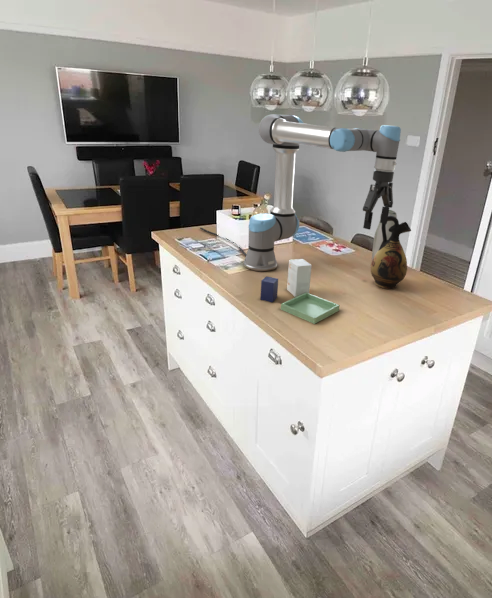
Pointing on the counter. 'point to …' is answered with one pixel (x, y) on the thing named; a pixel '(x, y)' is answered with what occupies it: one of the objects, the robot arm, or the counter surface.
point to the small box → (299, 277)
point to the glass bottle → (378, 234)
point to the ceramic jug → (390, 257)
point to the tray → (310, 307)
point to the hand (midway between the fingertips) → (375, 226)
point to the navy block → (269, 289)
